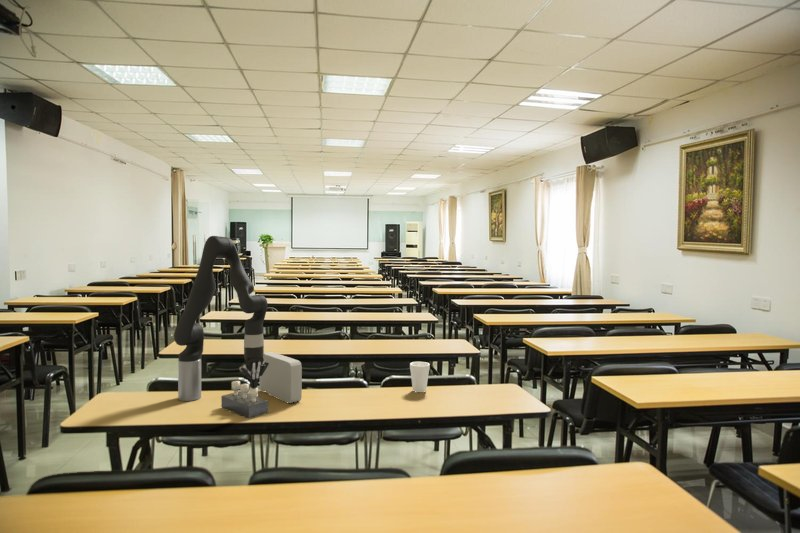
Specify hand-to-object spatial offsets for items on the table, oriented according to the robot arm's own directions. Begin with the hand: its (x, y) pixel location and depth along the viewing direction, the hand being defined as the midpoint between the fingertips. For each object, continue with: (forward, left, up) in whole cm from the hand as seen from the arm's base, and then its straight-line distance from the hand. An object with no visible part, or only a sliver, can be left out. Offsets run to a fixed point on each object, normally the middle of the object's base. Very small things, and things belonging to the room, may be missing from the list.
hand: (253, 387), depth 186 cm
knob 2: (-7, 0, -8) cm, 10 cm away
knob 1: (-13, 0, -8) cm, 15 cm away
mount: (-7, 0, -11) cm, 12 cm away
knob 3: (0, 0, -8) cm, 8 cm away
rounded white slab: (-12, +21, -11) cm, 26 cm away
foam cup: (+31, +69, -11) cm, 77 cm away
